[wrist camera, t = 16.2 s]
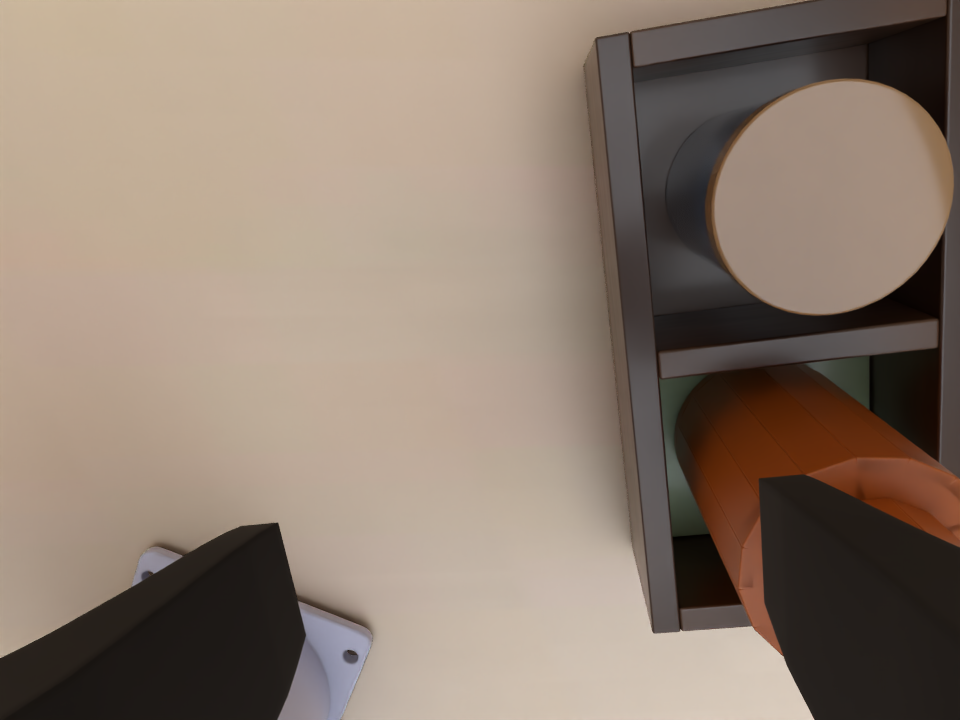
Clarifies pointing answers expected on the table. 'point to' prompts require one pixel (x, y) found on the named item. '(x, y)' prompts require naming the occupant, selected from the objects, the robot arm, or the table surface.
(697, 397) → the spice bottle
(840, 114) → the blue jar
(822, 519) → the robot arm
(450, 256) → the table surface
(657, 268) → the divided storage box
